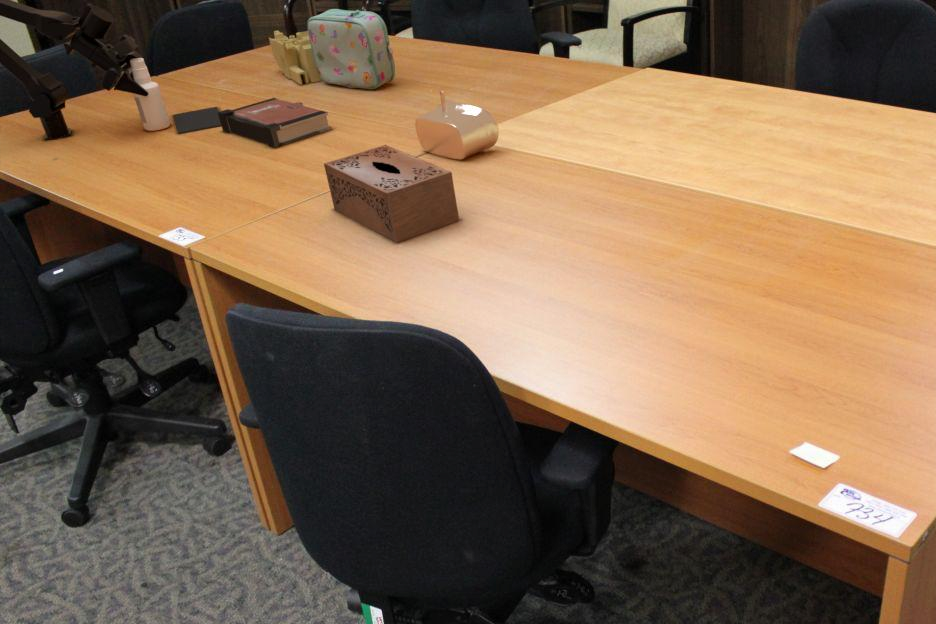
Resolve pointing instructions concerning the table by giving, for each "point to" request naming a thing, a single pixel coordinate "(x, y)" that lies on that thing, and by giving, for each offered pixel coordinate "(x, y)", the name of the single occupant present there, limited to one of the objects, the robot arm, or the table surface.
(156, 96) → the spray bottle
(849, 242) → the table surface
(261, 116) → the book
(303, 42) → the beige blocky piece
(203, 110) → the pad
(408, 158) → the tissue box cover
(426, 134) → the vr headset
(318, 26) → the lunch box
